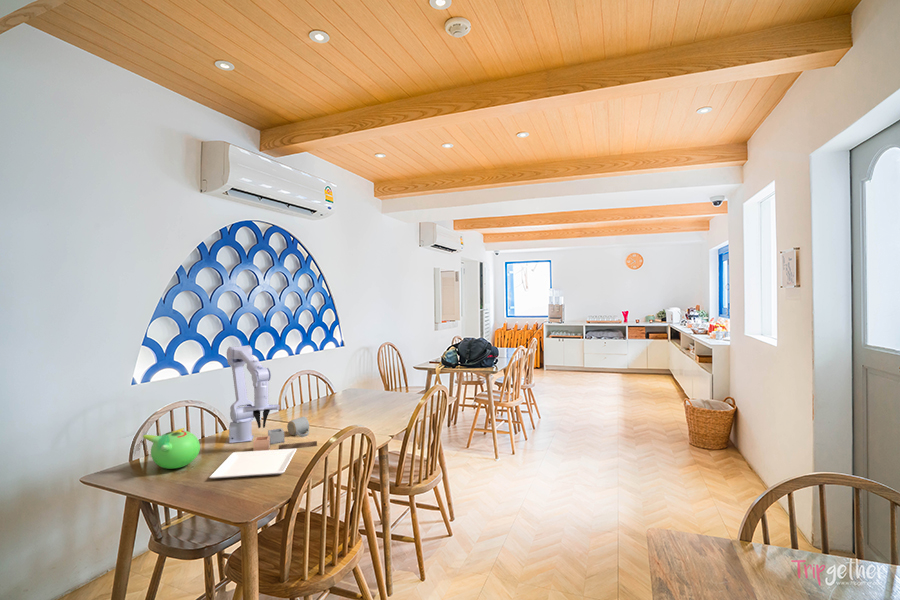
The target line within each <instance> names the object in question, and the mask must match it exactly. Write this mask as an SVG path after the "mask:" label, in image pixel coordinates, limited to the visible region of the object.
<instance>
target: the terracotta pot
mask: <svg viewBox="0 0 900 600" xmlns="http://www.w3.org/2000/svg"><path fill="white" fill-rule="evenodd" d="M253 439H254V440H253V451H263V450H271V449H270V448H271V445H270V436H268V435H264V436H263V435H262V436H256V437H254V438H253Z"/></svg>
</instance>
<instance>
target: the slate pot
mask: <svg viewBox="0 0 900 600" xmlns="http://www.w3.org/2000/svg"><path fill="white" fill-rule="evenodd" d="M267 436H270V446H271V445H275V444H282V443H283V444H284V443H285V431H284V429H283V428H275V429H267Z"/></svg>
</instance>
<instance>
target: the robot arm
mask: <svg viewBox="0 0 900 600" xmlns="http://www.w3.org/2000/svg"><path fill="white" fill-rule="evenodd" d="M226 359H227V360H226V361H227V365H228V366H230V367H231V371H232V379H233V386H234V393H235V401H234V402H233V403H232V404H231V406H230V412H229V413H230V414H229V416H230V417H229V418H230V420H231V421H230V422H229V427H228V428H229V430H228V434H229V435H228V436H229V437H228V439H229V442H228V443H229V444H233V443H234V444H235V443H245V442H252V440H253V439H254V434H253V432H252V431H253V430H252V424H253V423H252V421H253V420H255V421H256V423H257V429H260V428H261V426H262V428H263V429H264V428H266V424H267V423H266V422H267V419H268V416H269V414H270V412H271V411H279V410H280V404H269V402H270V401H269V381H270V380H271V376H272V374H271V370H270V369H269V367H264V366H263V365H262V363H261V362H260V361H259V360H258V359H255V358H254V357H253V349H252V347H251V345H249V344H248V345H240V346H239V345H238V346H229V347H228V348H227V350H226ZM244 365H246V369H247V371H248V372H249V373H250V374H251V380H252V386H253V393H254V394H253V395H254V396H253V397H254V398H253V400H254V401H252V400H251V399H249V398H248V394H247V385H246V378H245V369H244ZM261 412H262V425H261Z"/></svg>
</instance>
